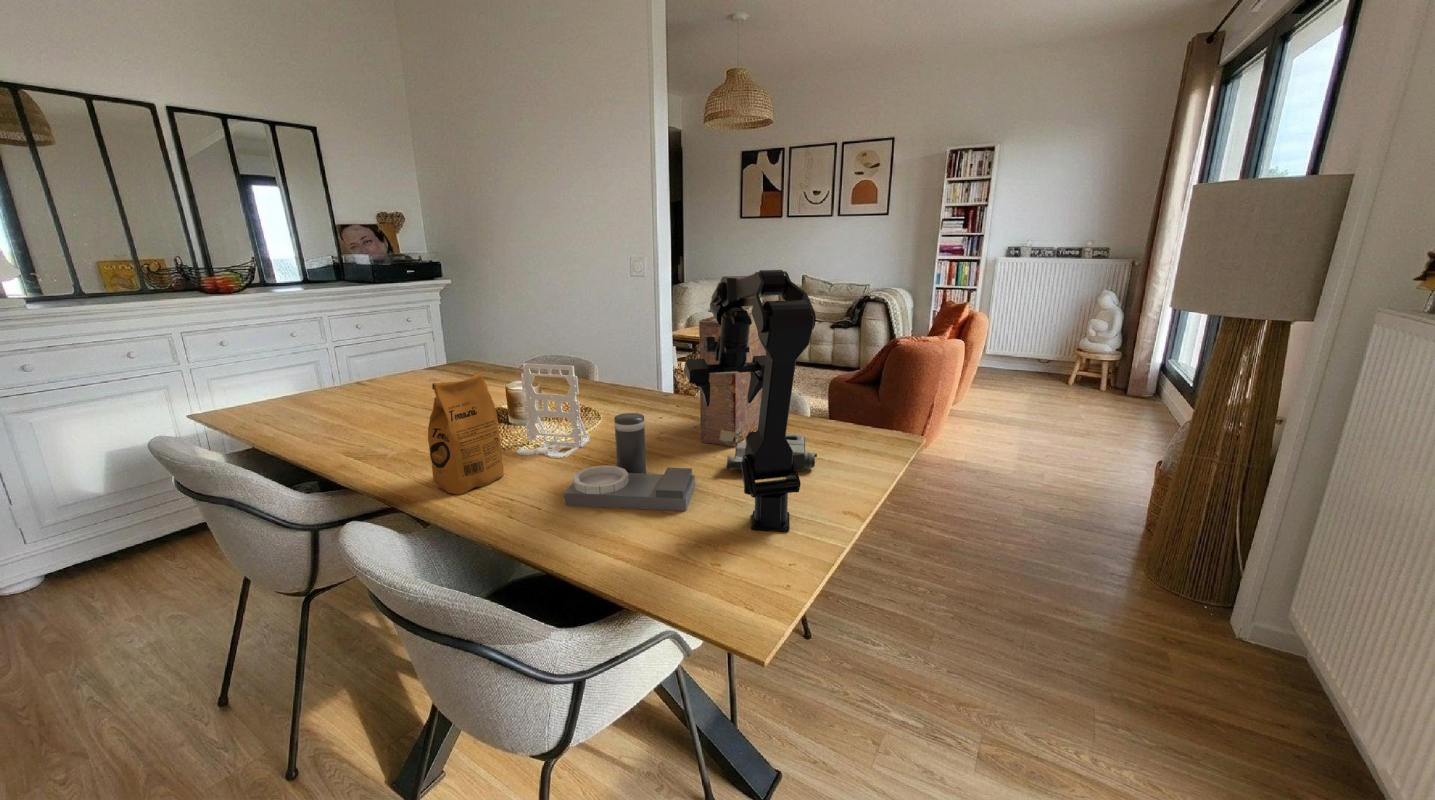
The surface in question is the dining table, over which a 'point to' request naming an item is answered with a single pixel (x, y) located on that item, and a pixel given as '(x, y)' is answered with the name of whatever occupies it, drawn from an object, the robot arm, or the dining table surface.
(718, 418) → the book
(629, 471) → the dark grey cylinder
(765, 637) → the dining table surface
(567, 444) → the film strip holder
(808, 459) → the camcorder
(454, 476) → the coffee package
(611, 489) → the grey stepped base
